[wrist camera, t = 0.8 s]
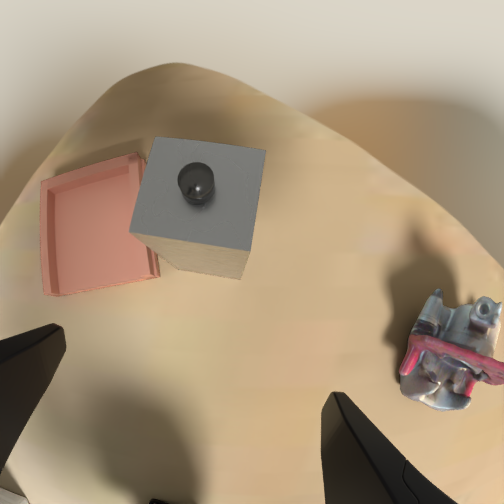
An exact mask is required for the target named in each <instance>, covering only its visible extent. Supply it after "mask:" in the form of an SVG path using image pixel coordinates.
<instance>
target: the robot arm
mask: <svg viewBox="0 0 504 504" xmlns="http://www.w3.org/2000/svg"><path fill="white" fill-rule="evenodd" d="M65 351H66V341H65V334H64V329H63V327H61V326H59V325H57V324H54V323H52V324H48V325H45V326H42V327H39V328H36V329H33V330H30V331H27V332H24V333H21V334H18V335H15V336H12V337H9V338H6V339H3V340H0V474H1V471H2V470H3V467H4V465H5V463H6V461H7V459H8V457H9V455H10V453H11V451H12V449H13V447H14V446H15V444H16V442H17V440H18V438H19V436H20V434H21V432H22V431H23V429H24V427H25V425H26V423H27V422H28V420H29V418H30V416H31V415H32V413H33V411H34V409H35V408H36V406H37V404H38V403H39V401H40V399H41V398H42V396H43V394H44V393H45V391H46V389H47V388H48V386H49V384H50V382H51V380H52V378H53V376H54V374H55V372H56V370H57V368H58V365H59V363H60V361H61V359H62V357H63V355H64V353H65ZM321 461H322V471H323V481H324V492H325V504H458V503H456V502H455V501H454V500H452V499H451V498H450V497H449V496H447V495H446V494H445V493H444V492H442V491H441V490H440V489H439V488H437V487H436V486H435V485H434V484H432V483H431V482H430V481H429V480H428V479H427V478H426V477H424V476H423V475H422V474H421V473H420V472H419V471H418V470H417V469H416V468H415V467H414V466H413V465H412V464H411V463H410V462H409V461H408V460H406V458H405V457H404V456H403V455H402V454H401V453H400V451H399V450H398V449H397V448H396V447H395V446H394V445H393V444H392V443H391V442H390V441H389V440H388V439H387V438H386V437H385V436H384V435H383V434H382V432H381V431H380V430H379V429H378V428H377V427H376V426H375V425H374V424H373V423H372V422H371V421H370V420H369V419H368V418H367V416H366V415H365V414H364V413H363V412H362V411H361V410H360V409H359V408H358V407H357V406H356V405H355V404H354V402H353V401H352V400H351V399H350V398H349V397H348V396H347V395H346V394H345V393H344V392H335V391H334V392H331V394H330V395H329V397H328V399H327V401H326V403H325V404H324V406H323V408H322V412H321ZM153 503H156V504H168V503H165V502H162V501H159V500H157V499H151V500H150V502H149V504H153Z"/></svg>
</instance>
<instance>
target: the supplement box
mask: <svg viewBox="0 0 504 504" xmlns="http://www.w3.org/2000/svg"><path fill="white" fill-rule="evenodd" d="M0 504H29V503H28V501H27V499H26V498H25V497H22V496H20V495H17V494H14V493H12V492H10V491H7V490H5V489H2V488H0Z"/></svg>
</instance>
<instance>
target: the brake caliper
mask: <svg viewBox="0 0 504 504" xmlns="http://www.w3.org/2000/svg"><path fill="white" fill-rule="evenodd" d="M501 310H502V302H499V303H495V302H494V301H493V300H492V299H491V298H489V297H485V296H483V297H481V298H479V299H478V300H477V301H476V302H475V303H474V304H464V305H460V306H459V307H457V308H454V309H453V308H449V307H446V306H443V291H442V290H441V289H436V290H435V291H434V292H433V294H432V295H431V296H430V297H429V298H428V299H427V301H426V303H425V305H424V307H423V309H422V311H421V313H420V315H419V317H418V319H417V321H416V322H415V325H414V326H413V328H412V330H411V332H410V335H409V337H408V350H407V353H406V355H405V358H404V360H403V362H402V364H401V366H400V369H399V373H400V390H401V393H402V394H403V395H404V396H406V397H408V398H410V399H412V400H414V401H419V402H422V403H424V404H425V405H427V406H429V407H431V408H433V409H435V410H438V411H449V410H461V409H465V408H467V407H468V406H469V404H470V402H471V398H470V397H469V396H470V394H471V392H472V389H473V386H474V384H475V383H476V382H477V381H483V382H485V383H488V384H490V385H501V384H504V363H503V362H499V361H497V360H495V359H493V358H492V357H493V354H494V350H495V346H496V342H497V338H498V335H499V331H500V328H501V321H500V313H501ZM484 371H485V372H486V373H485V372H484Z"/></svg>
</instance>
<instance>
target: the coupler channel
mask: <svg viewBox="0 0 504 504" xmlns="http://www.w3.org/2000/svg"><path fill="white" fill-rule="evenodd" d="M145 168H146V163H145V161H144V159H142V160H141V158H140V156H139V154H138V153H137V152H135V153H131V154H127V155H123V156H120V157H116V158H112V159H109V160H105V161H102V162H98V163H95V164H92V165H88V166H85V167H82V168H79V169H76V170H73V171H69V172H66V173H63V174H61V175H58V176H55V177H52V178H49V179H46V180H44V181H41V193H40V251H41V268H42V280H43V290H44V295H51V296H56V297H57V296H63V295H68V294H73V293H79V292H84V291H89V290H95V289H100V288H105V287H110V286H116V285H121V284H126V283H131V282H137V281H142V280H147V279H152V278H157V277H160V272H159V265H158V259H157V254H156V253H155V252H154V251H152V250H151V249H150V248H148V247H147V246H146V245H145V244H143V243H142V242H141V241H139V240H138V239H137V238H136V237H134V236H133V235H132V234H130V233H129V228H130V223H131V219H132V215H133V211H134V207H135V203H136V200H137V196H138V192H139V189H140V185H141V181H142V178H143V174H144V171H145Z"/></svg>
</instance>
